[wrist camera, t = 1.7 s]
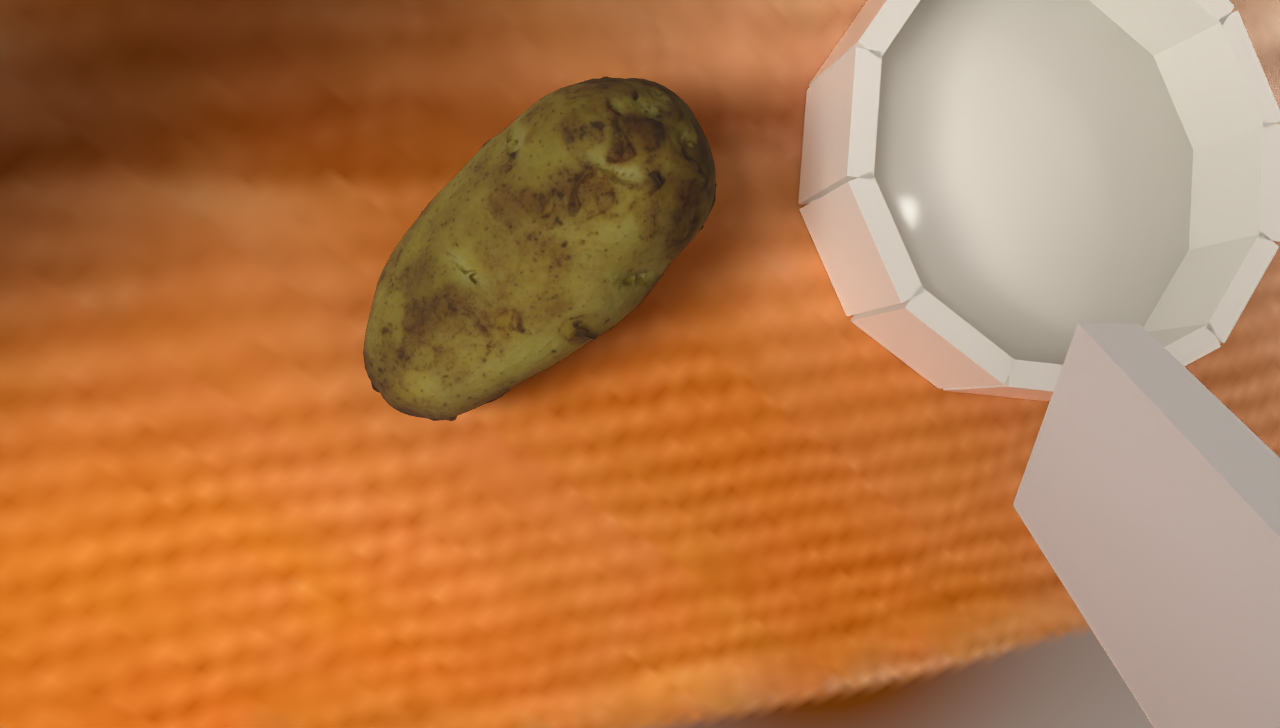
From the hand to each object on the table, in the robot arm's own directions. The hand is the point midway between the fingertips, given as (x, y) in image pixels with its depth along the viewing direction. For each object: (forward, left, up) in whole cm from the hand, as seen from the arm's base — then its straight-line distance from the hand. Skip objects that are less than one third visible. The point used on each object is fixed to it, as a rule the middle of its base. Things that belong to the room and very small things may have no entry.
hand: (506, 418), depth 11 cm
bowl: (+21, -13, -24) cm, 34 cm away
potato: (+6, +1, -24) cm, 25 cm away
